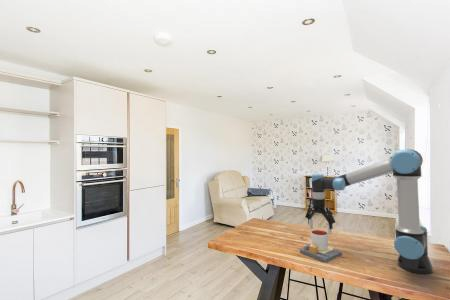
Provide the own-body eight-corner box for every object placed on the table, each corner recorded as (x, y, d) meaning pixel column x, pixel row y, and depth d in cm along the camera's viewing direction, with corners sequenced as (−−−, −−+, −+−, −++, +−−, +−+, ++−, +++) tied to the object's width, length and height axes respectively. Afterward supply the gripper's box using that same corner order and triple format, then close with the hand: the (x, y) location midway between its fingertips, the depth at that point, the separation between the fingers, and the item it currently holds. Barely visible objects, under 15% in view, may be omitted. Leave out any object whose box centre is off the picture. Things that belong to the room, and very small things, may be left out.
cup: (329, 251, 151) (329, 235, 151) (312, 251, 152) (312, 235, 152) (326, 245, 160) (325, 230, 160) (310, 244, 162) (309, 229, 162)
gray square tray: (341, 255, 151) (341, 247, 151) (325, 263, 141) (325, 254, 141) (316, 246, 165) (316, 238, 165) (299, 252, 156) (299, 244, 156)
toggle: (317, 253, 150) (317, 246, 150) (314, 254, 148) (314, 247, 148) (312, 251, 153) (312, 244, 153) (309, 252, 151) (309, 245, 151)
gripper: (340, 199, 148) (342, 235, 148) (306, 195, 169) (307, 226, 168) (333, 201, 144) (335, 237, 144) (298, 196, 165) (300, 228, 164)
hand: (320, 231), depth 156 cm, fingers open, 13 cm apart
